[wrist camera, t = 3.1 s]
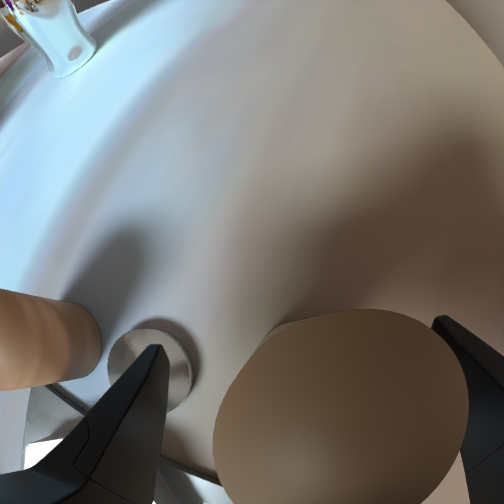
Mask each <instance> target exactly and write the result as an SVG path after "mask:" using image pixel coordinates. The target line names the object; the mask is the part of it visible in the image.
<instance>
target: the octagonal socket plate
mask: <svg viewBox="0 0 504 504" xmlns="http://www.w3.org/2000/svg"><path fill="white" fill-rule="evenodd" d="M86 414H87V412H85V411H84V410H83V409H81V408H80V407H78V406H77V405H75V404H74V403H73V402H71V401H70V400H68V399H67V398H66V397H64V396H63V395H62V394H60V393H59V392H58V391H56V390H55V389H54V388H53V387H51V386H50V385H49V384H47V385H41V386H35V387H31V392H30V397H29V403H28V409H27V415H26V423H25V430H24V439H23V450H22V463H21V470H25V469H27V468H30V467H32V466H33V465H35V464H36V463H37V462H39V461H40V460H41V459H42V458H43V457H44V456H45V455H46V454H47V453H49V452H50V451H51V450H52V449H53V448H54V447H55V446H56V445H57V444H58V443H59V442H61V441H62V440H63V439H64V438H65V437H66V436H67V435H68V434H69V433H70V432H71V431H72V430H73V428H74V427H75V426H76V425H77V424H78V423H79V422H80V421H81V420H82V419H83V417H86ZM153 504H234V503H233V502H232V501H231V499H230V498H229V497H228V495H227V494H226V492H225V490H224V488H223V486H222V484H221V482H220V481H219V480H216V479H214V478H211V477H208V476H206V475H203V474H201V473H199V472H196V471H194V470H191V469H189V468H187V467H184V466H182V465H180V464H178V463H176V462H173V461H171V460H169V459H167V458H165V457H163V456H161V455H160V457H159V464H158V471H157V478H156V485H155V493H154V501H153Z"/></svg>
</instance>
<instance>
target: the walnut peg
mask: <svg viewBox="0 0 504 504" xmlns="http://www.w3.org/2000/svg"><path fill="white" fill-rule="evenodd" d="M468 412H469V398H468V388H467V384H466V380H465V375H464V373H463V370H462V368H461V365H460V363H459V361H458V359H457V357H456V356H455V354H454V352H453V351H452V349H451V348H450V347H449V346H448V344H447V343H446V342H445V341H444V339H443V338H441V337H440V336H439V335H438V334H437V333H436V332H435V331H433V330H432V329H431V328H429V327H428V326H426V325H425V324H423V323H421V322H420V321H418V320H415V319H413V318H411V317H408V316H406V315H403V314H399V313H395V312H392V311H386V310H377V309H353V310H346V311H339V312H334V313H329V314H325V315H321V316H316V317H312V318H307V319H302V320H298V321H293V322H288V323H284V324H281V325H279V326H277V327H275V328H274V329H272V330H271V331H270V332H269V333H268V334H267V335H266V337H265V338H264V339H263V341H262V342H261V344H260V345H259V346H258V348H257V349H256V350H255V352H254V353H253V355H252V356H251V357H250V359H249V360H248V361H247V363H246V364H245V365H244V367H243V368H242V370H241V371H240V372H239V374H238V375H237V377H236V378H235V380H234V381H233V383H232V384H231V386H230V387H229V389H228V391H227V393H226V395H225V397H224V399H223V401H222V403H221V406H220V409H219V412H218V415H217V418H216V421H215V427H214V433H213V456H214V463H215V468H216V471H217V474H218V477H219V480H220V482H221V484H222V486H223V488H224V490H225V492H226V494H227V495H228V497H229V498H230V499H231V501H232V502H233V503H234V504H421V503H422V502H423V501H424V500H425V499H426V498H427V497H428V496H429V495H430V494H431V493H432V492H433V491H434V490H435V489H436V488H437V486H438V485H439V484H440V483H441V481H442V480H443V479H444V477H445V476H446V474H447V473H448V471H449V470H450V468H451V466H452V465H453V463H454V461H455V459H456V457H457V455H458V452H459V450H460V448H461V445H462V442H463V439H464V436H465V432H466V427H467V421H468Z"/></svg>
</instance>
